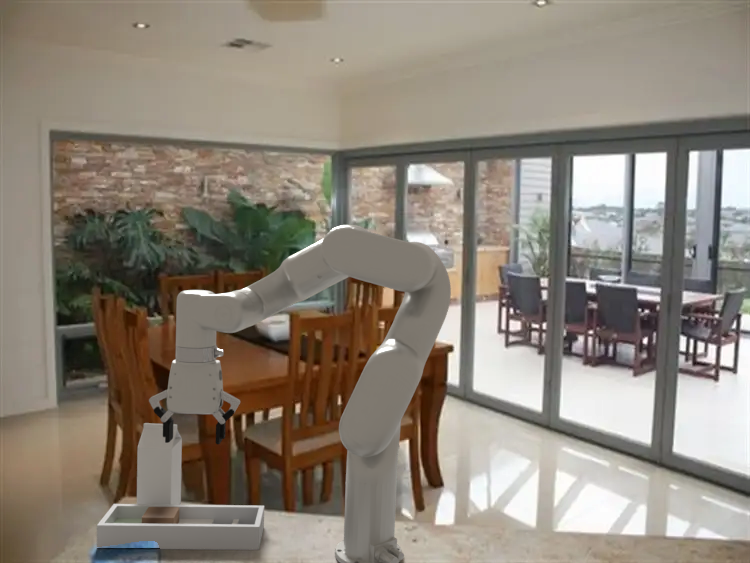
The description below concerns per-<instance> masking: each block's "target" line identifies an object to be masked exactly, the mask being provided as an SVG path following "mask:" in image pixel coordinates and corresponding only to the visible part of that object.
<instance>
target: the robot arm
mask: <svg viewBox="0 0 750 563" xmlns="http://www.w3.org/2000/svg"><path fill="white" fill-rule="evenodd" d="M347 278H353V279H355V280H359V281H363V282H366V283H371V284H373V285H377V286H380V287H383V288H388V289H392V290H393V291H394V290H395V291H397V292H398V291H399V292H404V295H403V299H402V302H401V303H400V306H399V308H398V310H397V312H396V314H395V316H394V318H393V322H392V324H391V326H390V328H389V330H388V332H387V334H386V336H385V338H384V340H383V341H382V343H381V344H380V346H378V347H377V348H376V350H375V351H374V352H373V353H372V354H371V356H370V357H369V359H368V360H367V362H366V364H365V366H364V367H363V370H362V372H361V374H360V376H359V378H358V381H357V382H356V384H355V387H354V389H353V390H352V393H351V395H350V397H349V399H348V402H347V403H346V406H345V408H344V410H343V413H342V414H341V416H340V420H339V424H338V434H339V438H340V441H341V443H342V445H343V447H344V448H345V449H346V450H347V454H346V470H345V473H346V474H345V492H344V493H345V495H344V522H343V539H342V540H341V541H340V542H338V543H337V545H335V548H334V549H335V550H334V555H335V556H334V557H335V559H336V560H337V561H338V563H400V562H401V561H402V560H404V558H405V554H404V553H403V551H402V548H401V546H399V544H398V538H397V537H395V532H396V531H395V527H396V510H397V509H396V508H397V505H396V504H397V503H396V502H397V480H398V464H399V447H400V438H401V426H402V425H401V424H402V423H401V422H402V419H403V417H404V414H406V411H407V409H408V408H409V407H408V406H409V405H410V403H411V401H412V398H413V396H414V394H415V392H416V390H417V388H418V386H419V383H420V382H421V379H422V377H423V373H424V368H425V365H426V362H427V361H428V358H429V356H430V354H431V352H432V351H433V350H432V349H433V347H434V345H435V344H436V341H437V338H438V336H439V334H440V331H441V329H442V328H443V325H444V322H445V320H446V317H447V314H448V312H449V309H450V308H449V307H450V303H451V296H452V291H451V289H452V288H451V281H450V277H449V273H448V270H447V268H446V266H445V264H444V263H443V261H442V259H441V258H440V257H439V256H438V254H437V252H435V251H434V250H433V248H431V247H430V246H428V245H427V244H425V243H422V242H419V241H406V240H402V239H398V238H393V237H390V236H387V235H383V234H379V233H375V232H371V231H368V229H366V228H365V227H362V226H360V225H356V224H341V225H338V226H335V227H333V228H331V229H330V230H329V231H328V232H327V233H326V234H325V236H324V237H323V238H321V239H320V240H318V241H316V242H315V243H313V244H310V245H309V246H307V247H305V248H302V249H301V250H299V251H297V252H296V253H293V254H291V255H289V256H287V258H285V259H284V260H283V261H282V262H281V263H280V266H279V267H278V268H276V269H275V271H273V272H271V273H270V274H268V275H266V276H265V277H262V278H261V279H260V280H257V281H256V282H253V283H252V284H250V285H248V286H246V287H244V288H241V289H236V290H233V291H229V292H223V293H215V292H213V291H211V290H206V289H205V290H204V289H188V290H182V291H180V292H179V293H178V294H177V296H176V309H175V310H176V316H175V317H176V319H175V320H176V321H175V322H176V323H175V327H176V328H175V359H173V360H172V362H171V365H170V366H171V367H170V369H169V370H170V371H169V376H168V383H167V389H165V390H163V391H162V392H159V393H157V394H155V395H152V396H151V397H150V398H148V402H149V404H150V406H151V407H152V409H153V412H154V414H155V415H156V416H158V418H159V419H160V421H161V423H162V424H163V437H165V443H169V442H170V441H171V440H172V439H173V425H174V419H173V418H172V417H173V415H174V414H185V415H186V414H189V415H190V414H191V415H212V416H213V417H214V418H215V420H217V423H216V424H215V444H216V445H221V442H222V441H223V440H224V439H225V438H226V422H228V420H230V419H231V417H232V416H234V414H235V413H236V410H237V409H238V407H240V406H239V405H240V404H241V399H239V398H237V397H235V396H234V395H232V394H230V393H228V392H227V391H224V384H223V383H224V380H223V371H222V366H221V360H219V359H217V358H219V357H223V356H224V355H225V354H224V353H225V352H224V349H220V348H218V344H217V332H220V333H227V334H233V333H234V334H235V333H237V332H241V331H242V330H245V329H247V328H250V327H252V326H255V325H257V324H258V323H260V322H263V321H264V320H266V319H268V318H270V317H272V316H273V315H274V316H275V315H276V314H277V313H279V312H282V311H283V310H286V309H287V308H289V307H291V306H294V305H295V304H297V303H301V302H303V301H306V300H307V299H309V298H311V297H313V296H315V295H317V294H319V293H322V292H323V291H325V290H326V289H328V288H330V287H332V286H334V285H336V284H338V283H340V282H342V281H344V280H346V279H347ZM163 399H166V408H167V410H165V408H164V407H163V406H162V405H161V403H160V401H162V400H163ZM224 402H227V403H228V404H230V407H229V409H228V410H227V411H226V412H225V411H224V409H222V408H223V405H224Z"/></svg>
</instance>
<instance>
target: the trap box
mask: <svg viewBox="0 0 750 563" xmlns="http://www.w3.org/2000/svg"><path fill="white" fill-rule="evenodd" d="M148 507H179V523H178V524H150V523H142V516H143V515H144V513H145V512H146V510H147V509H148ZM264 528H265V505H251V504H250V505H248V504H247V505H244V504H243V505H241V504H240V505H239V504H235V505H234V504H181V505H169V504H137V503H113V504H112V505H111V507H110V508H109V509H108V510H107V512H106V513H105V514H104V516H103V517H102V518H101V519H100V521H99V522H98V523H97V524H96V548H97V547H102V546H110V545H118V544H125V543H131V542H139V541H155V542H157V543H158V545H159V548H160V549H159V550H211V551H212V550H217V551H218V550H219V551H220V550H225V551H226V550H234V551H235V550H237V551H239V550H241V551H246V550H247V551H249V550H250V551H252V550H253V551H258V550H260V546H261V542H262V537H263V532H264Z"/></svg>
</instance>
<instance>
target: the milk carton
mask: <svg viewBox="0 0 750 563" xmlns="http://www.w3.org/2000/svg"><path fill="white" fill-rule="evenodd" d="M182 441H183V438H182V436H181V433H180V432H179V429H178V424H173V439H172V440H171V441H170V442H169V443H165V437H163V423H149V422H145V423H143V428H142V432H141V436H140V438H139V441H138V443H137V444H138V445H137V454H136V455H137V457H136V460H137V461H136V464H137V466H136V467H137V468H136V470H137V471H136V504H169V505H182V504H181V502H182V460H183V459H182V456H183V455H182V453H183V452H182V449H183V444H182V443H183V442H182Z"/></svg>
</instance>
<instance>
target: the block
mask: <svg viewBox="0 0 750 563" xmlns="http://www.w3.org/2000/svg"><path fill="white" fill-rule="evenodd" d="M142 523H150V524H178V523H179V507H148V509H147V510H146V512H145V513H144V515H143V516H142Z"/></svg>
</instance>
